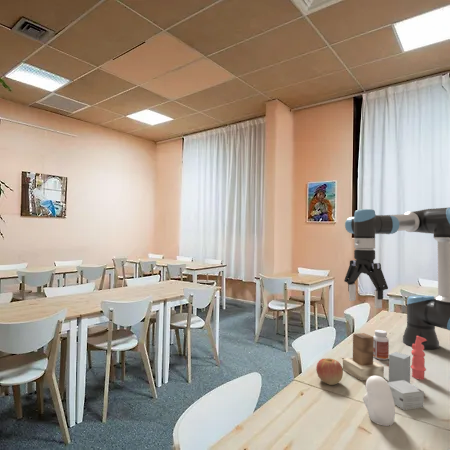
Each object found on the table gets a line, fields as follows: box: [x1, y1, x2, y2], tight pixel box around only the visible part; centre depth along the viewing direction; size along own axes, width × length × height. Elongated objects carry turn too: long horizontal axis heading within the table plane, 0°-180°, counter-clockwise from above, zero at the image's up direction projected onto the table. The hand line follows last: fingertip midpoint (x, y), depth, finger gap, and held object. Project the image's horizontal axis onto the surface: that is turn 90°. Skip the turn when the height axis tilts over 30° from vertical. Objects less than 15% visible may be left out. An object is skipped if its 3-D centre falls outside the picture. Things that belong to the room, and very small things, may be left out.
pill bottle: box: [372, 329, 390, 361], centre depth 141 cm, size 6×6×11 cm
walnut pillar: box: [352, 332, 374, 366], centre depth 125 cm, size 5×5×10 cm
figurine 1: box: [362, 376, 396, 427], centre depth 93 cm, size 7×8×12 cm
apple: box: [316, 358, 344, 386], centre depth 116 cm, size 9×9×8 cm
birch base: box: [342, 357, 385, 381], centre depth 125 cm, size 10×10×4 cm
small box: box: [387, 380, 425, 411], centre depth 104 cm, size 8×8×5 cm
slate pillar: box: [388, 351, 411, 384], centre depth 116 cm, size 5×5×10 cm
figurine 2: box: [410, 336, 427, 381], centre depth 123 cm, size 5×5×15 cm
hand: (364, 304), depth 130 cm, fingers open, 13 cm apart
